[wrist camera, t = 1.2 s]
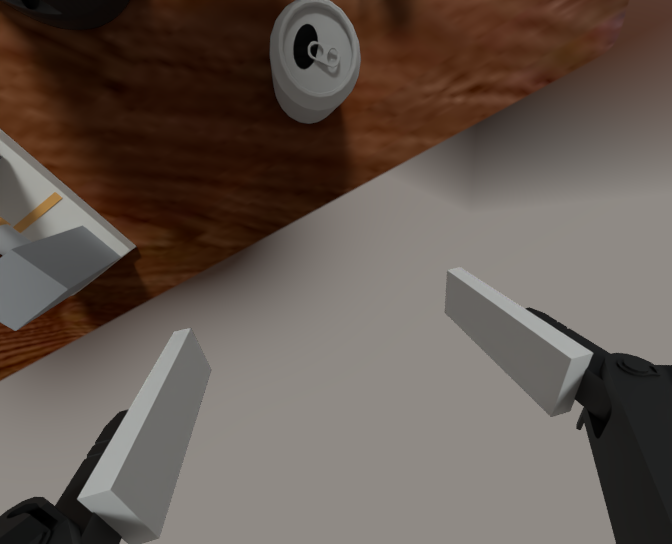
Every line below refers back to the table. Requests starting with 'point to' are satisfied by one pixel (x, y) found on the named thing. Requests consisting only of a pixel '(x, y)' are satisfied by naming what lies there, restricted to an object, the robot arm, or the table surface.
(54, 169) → the table surface
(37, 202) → the rod stand
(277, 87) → the can
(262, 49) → the table surface
